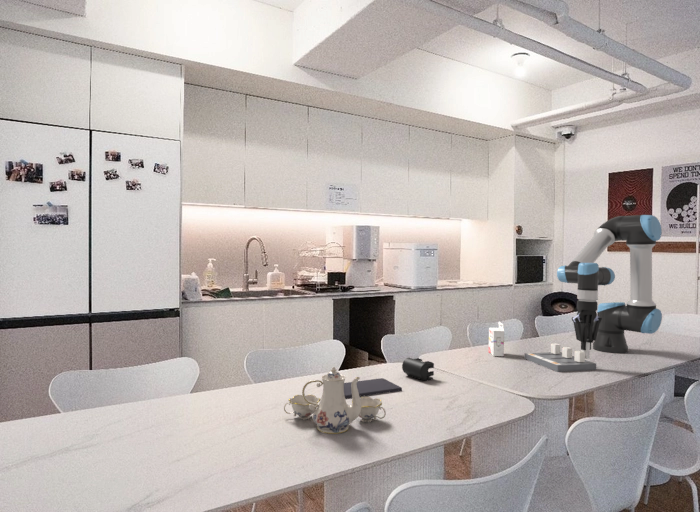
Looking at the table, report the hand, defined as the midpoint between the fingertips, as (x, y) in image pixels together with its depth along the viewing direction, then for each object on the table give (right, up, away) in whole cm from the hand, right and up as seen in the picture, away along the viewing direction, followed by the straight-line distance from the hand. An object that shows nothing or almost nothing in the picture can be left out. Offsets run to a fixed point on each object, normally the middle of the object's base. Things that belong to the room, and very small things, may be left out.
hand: (585, 357), depth 195 cm
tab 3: (-3, -1, -1) cm, 3 cm away
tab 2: (-5, -1, +7) cm, 8 cm away
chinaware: (-101, -4, -66) cm, 120 cm away
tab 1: (-6, -1, +14) cm, 15 cm away
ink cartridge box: (-30, -3, +22) cm, 37 cm away
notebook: (-91, -4, -34) cm, 98 cm away
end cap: (-71, -4, -19) cm, 74 cm away
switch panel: (-8, -4, +6) cm, 11 cm away
